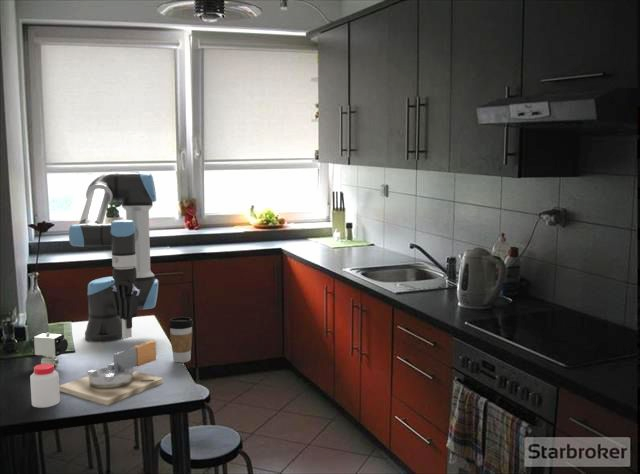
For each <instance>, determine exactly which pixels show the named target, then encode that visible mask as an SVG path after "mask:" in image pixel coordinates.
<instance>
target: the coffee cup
mask: <svg viewBox="0 0 640 474" xmlns="http://www.w3.org/2000/svg"><path fill="white" fill-rule="evenodd" d="M193 327H194V322H193V319H192V318H191V317H188V316H179V317H173V318H170V319H169V323H168V328H169V331H170V332H169V335H170V336H169V338H170V343H171V351H172V358H173V359H172V360H174V361H175V362H174V361H173V362H174V363H177V362H182V363H187V362H190V361H191V356H192V355H191V354H192V342H193Z"/></svg>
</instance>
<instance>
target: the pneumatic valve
mask: <svg viewBox="0 0 640 474" xmlns="http://www.w3.org/2000/svg"><path fill="white" fill-rule="evenodd" d="M68 346H69V342H68V340H67V339H66V338H65V334H60V333H59V334H58V333H50V332H46V333H42V332H41V333H38V334H36V335H33V336H32V337H31V339H30V340H29V349H30V350H32V352H33V356H42V358H41V359H40V360H41V361H40V364H47V363H49V364H53V365H54V367H58V364H59V359H58V357H59V356H60V355H63V354H64V353H66V351H67V349H68Z"/></svg>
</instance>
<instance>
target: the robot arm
mask: <svg viewBox="0 0 640 474" xmlns="http://www.w3.org/2000/svg"><path fill="white" fill-rule="evenodd" d="M155 187H156V186H155V182H154V177H153V175H152V174H151V173H150V172H147V171H111V172H107V173H103V174H102V175H100V176H98V177H97V178H95V179H94V180H93V181H92V182H91V183H90V184H89V185H88V187H87V190H86V193H85V197H86V202H85V205H84V207H83V211H82V212H81V213H82V214H81V216H80V220H79V223H75V224H71V225H70V226H69V228H68V239H69V240H68V241H69V244H70V246H72V247H81V248H85V247H111V257H112V258H111V261H112V262H111V264H112V265H111V266H112V267H113V268H112V276H105V277H100V278H96V279H94V280H91V281H90V282H89V283H88V284H87V292H86V293H87V304H88V321H87V325H86V329H85V331H84V339H85V340H86V341H88V342H94V343H95V342H96V343H97V342H99V343H100V342H101V343H102V342H114V341H117V340H121V339H124V340H126V339H129V338H132V337H133V336H132V332H133V331H132V328H133V318H136V317H137V315H138V310H142V311H143V310H151V309H154V308H155V307H156V304H157V299H158V292H159V280H158V279H157V278H155V274H154V273H153V272H152V270H151V244H150V210H151V208H153V203H155V202H156V201H157V192H156V188H155ZM114 202H115V203H116V202H117V203H121V207H122V208H123V209H124V210H125V215H126V216H125V217H126V218H125V219H115V220H112V221H111V223H104V221H105V216H106V213H107V209H108V205H110V204H111V203H114Z"/></svg>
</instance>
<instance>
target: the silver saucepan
mask: <svg viewBox="0 0 640 474" xmlns="http://www.w3.org/2000/svg"><path fill="white" fill-rule="evenodd" d="M156 343H157V342H156V341H155V340H148V341H146V342H143V343H140V344H139V343H138V344H137V345H134V346H133V345H132V347H130V348H127V349H124V350H121V351H118V352H115V353H113V362H111V363H108V364H107V367H103V368H98V369H96V370H95V369H91V370H88V371H87V376H89V384H90V386H92V387H94V388H100V389H110V388H117V387H122V386H125V385H127V384H129V383H131V382H132V381H133V372H134V371H135V368H136V367H141V366H144V365H146V364H149V363H151V362H155V361H157V344H156Z"/></svg>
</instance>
